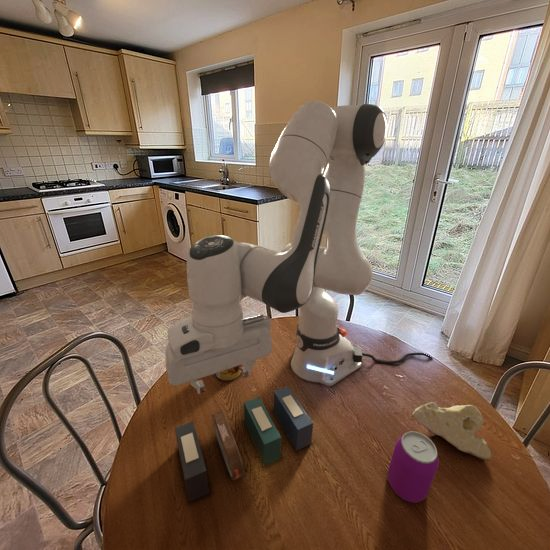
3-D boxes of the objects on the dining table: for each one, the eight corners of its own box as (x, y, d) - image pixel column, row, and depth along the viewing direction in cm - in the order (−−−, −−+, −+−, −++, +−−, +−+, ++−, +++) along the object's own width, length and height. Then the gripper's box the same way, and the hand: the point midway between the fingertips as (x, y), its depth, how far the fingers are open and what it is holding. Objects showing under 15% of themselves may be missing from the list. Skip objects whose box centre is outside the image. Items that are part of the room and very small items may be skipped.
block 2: (259, 416, 74) (259, 395, 71) (280, 458, 65) (281, 436, 62) (244, 422, 73) (243, 401, 70) (264, 466, 63) (264, 444, 60)
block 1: (196, 441, 68) (193, 420, 65) (209, 492, 58) (206, 469, 55) (178, 448, 66) (174, 426, 63) (188, 502, 57) (184, 479, 54)
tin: (246, 484, 60) (245, 457, 56) (231, 491, 58) (229, 464, 55) (224, 425, 72) (222, 400, 68) (211, 430, 71) (209, 405, 67)
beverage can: (406, 512, 56) (420, 473, 51) (378, 474, 62) (388, 435, 57) (435, 495, 59) (451, 456, 54) (405, 460, 65) (417, 422, 60)
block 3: (286, 405, 78) (287, 385, 75) (311, 444, 68) (313, 422, 65) (273, 411, 76) (273, 390, 73) (296, 451, 66) (297, 429, 63)
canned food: (246, 373, 88) (245, 341, 83) (222, 384, 84) (219, 351, 79) (234, 358, 94) (232, 327, 89) (211, 368, 90) (208, 336, 85)
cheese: (486, 443, 71) (448, 383, 76) (508, 448, 64) (466, 382, 69) (434, 473, 69) (399, 409, 74) (451, 482, 62) (411, 412, 67)
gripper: (263, 304, 60) (264, 357, 66) (158, 331, 51) (169, 388, 57) (277, 320, 54) (277, 376, 60) (162, 353, 46) (175, 413, 52)
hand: (224, 382), depth 59 cm, fingers open, 8 cm apart
